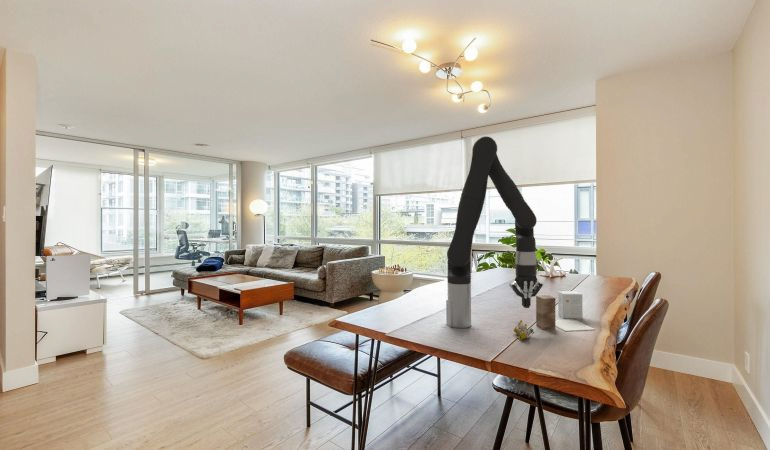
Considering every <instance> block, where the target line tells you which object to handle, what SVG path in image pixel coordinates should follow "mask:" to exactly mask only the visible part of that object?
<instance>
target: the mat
mask: <svg viewBox="0 0 770 450" xmlns="http://www.w3.org/2000/svg"><path fill="white" fill-rule="evenodd" d="M555 328H558V329H560V330H561V331H564V332H581V331H595V330H596V328H593V327H591V326H589V325H587V324H584V323H582V322H581V321H578V320H576V319H575V318H566V319H555Z"/></svg>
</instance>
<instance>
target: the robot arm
mask: <svg viewBox="0 0 770 450" xmlns="http://www.w3.org/2000/svg"><path fill="white" fill-rule="evenodd" d="M471 152H472V153H471V161H470V167H469V171H468V174H467V177H466V178H465V179H466V180H465V182H464V184H463V188H462V191H461V194H460V197H459V203H458V207H457V212H456V213H457V214H456V220H455V228H454V229H455V230H454V232H453V236H452V239H451V242H450V245H449V247H448V249H447V251H446V259H447V299H446V301H445V303H446V304H445V305H446V306H445V307H446V308H445V310H446V311H445V313H446V315H445V316H446V324H447V326H449V327H450V328H457V329H465V328H466V329H467V328H470V327H471V326H472V271H471V270H472V269H471V268H472V266H471V262H472V261H471V260H472V259H471V256H472V245H473V239H474V234H475V231H476V228H477V226H478V223H479V221H480V218H481V215H482V212H483V209H484V204H485V199H486V194H487V189H488V182H489V181H488V179H490V180H491V182H492V184H493V186H494V187H495V189H496V192H497V193H498V194H499V196H500V198H501V200H502V202H503V203H504V206H506V208H507V209H508V210H509V211H510V213H511V215H512V217H513V219H514V227H515V228H514V229H515V235H516V236H515V237H516V239H515V240H516V241H515V261H514V262H515V278H514V281H513V282H512V283H509V287H510V288H511V289H512V291H513V292H514V294H515V295H516V296H518V297H520V298H521V306H523V308H525V309H530V307H531V305H532V304H531V303H532V302H531V298H533V297H535V298H536V296H537V294H538V293H539V292H540V290H541V288H542V287H543V286H544V284H543V283H541V282H540V281H538V278H537V252H536V250H537V249H536V248H537V246H536V245H537V244H536V238H535V234H534V232H535V231H534V228H535V226H536V224H537V221H538V220H537V216H536V215H535V213H534V211H533V210H532V208H531V207H530V205H529V204H528V203H527V201H526V200H525V198H524V197H523V194H522V193H521V191H520V190H519V188H518V186H517V185H516V183H515V182H514V180H513V179H512V178H511V176H510V175H509V174H508V173H507V172H506V170H505V169H504V167H503V165H502V164H501V161H500V159H499V156H498V154H497V152H498V144H497V142H496V140H494V138H492V137H491V136H488V135H487V136H485V135H483V136H481V137H479V138H478V139H477V140H476V141H475V142H474V143H473V145H472V151H471ZM518 287H519V288H518Z"/></svg>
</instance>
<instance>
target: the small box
mask: <svg viewBox="0 0 770 450" xmlns="http://www.w3.org/2000/svg"><path fill="white" fill-rule="evenodd" d="M557 301H558V302H557V307H558V308H557V310H558V316H560V317H561V318H562V319H583V318H584V317H583V316H584V314H583V293H581V292H579V291H575V290H574V291H573V290H572V291H571V290H567V291H566V290H561V291H560V290H559V291H558V292H557Z"/></svg>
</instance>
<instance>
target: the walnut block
mask: <svg viewBox="0 0 770 450" xmlns="http://www.w3.org/2000/svg"><path fill="white" fill-rule="evenodd" d="M535 298H536V299H535V306H536V307H535V315H536V316H535V317H536V318H535V322H536V323H535V324H536V325H535V326H536V327H537V328H539V329H541V330H542V331H546V330H550V331H551V330H556V326H555V320H556V297H553V296H551V295H548V294H547V295H546V294H545V295H536V296H535Z"/></svg>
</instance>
